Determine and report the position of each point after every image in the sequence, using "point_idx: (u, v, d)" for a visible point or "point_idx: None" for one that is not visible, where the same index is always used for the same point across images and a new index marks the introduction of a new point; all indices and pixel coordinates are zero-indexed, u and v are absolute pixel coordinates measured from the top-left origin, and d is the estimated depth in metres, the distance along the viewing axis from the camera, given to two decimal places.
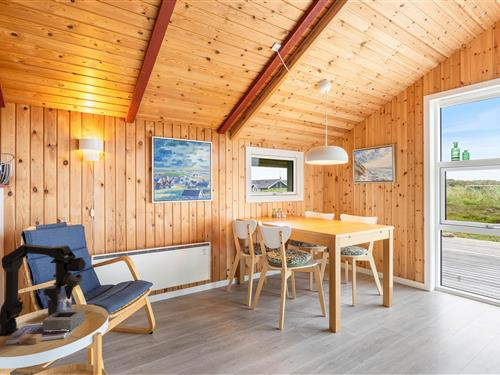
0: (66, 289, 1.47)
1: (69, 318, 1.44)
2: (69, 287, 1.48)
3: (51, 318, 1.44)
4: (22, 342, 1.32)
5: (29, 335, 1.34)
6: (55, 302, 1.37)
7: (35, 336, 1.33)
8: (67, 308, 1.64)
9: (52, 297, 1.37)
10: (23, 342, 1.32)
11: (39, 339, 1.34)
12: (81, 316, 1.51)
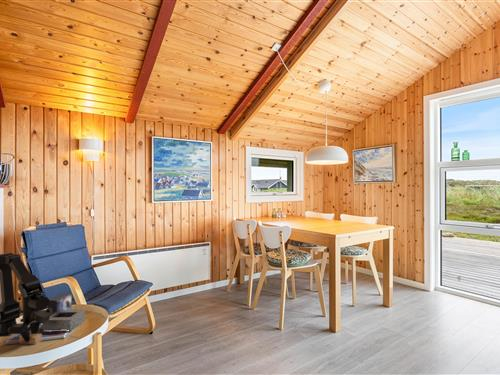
0: (31, 326, 1.36)
1: (69, 318, 1.44)
2: (35, 324, 1.36)
3: (51, 318, 1.44)
4: (22, 341, 1.32)
5: None
6: (26, 338, 1.31)
7: (35, 336, 1.33)
8: (67, 308, 1.64)
9: (23, 332, 1.30)
10: (23, 341, 1.32)
11: (38, 339, 1.33)
12: (81, 316, 1.51)
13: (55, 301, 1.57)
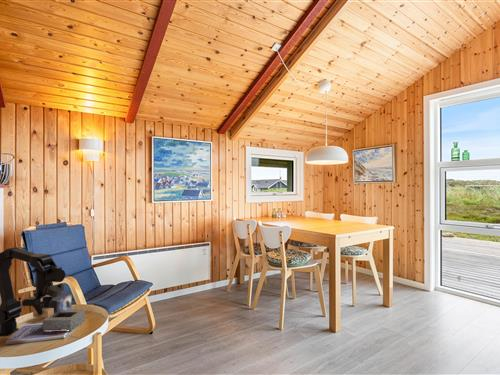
0: (44, 301, 1.41)
1: (69, 318, 1.44)
2: (47, 299, 1.41)
3: (51, 318, 1.44)
4: (35, 314, 1.37)
5: (42, 308, 1.40)
6: (39, 311, 1.36)
7: (47, 309, 1.38)
8: (67, 308, 1.64)
9: (36, 306, 1.36)
10: (37, 314, 1.37)
11: (51, 313, 1.38)
12: (81, 316, 1.51)
13: (55, 301, 1.57)
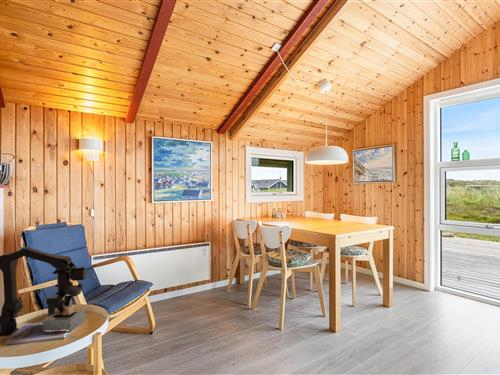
0: (64, 300, 1.51)
1: (69, 318, 1.44)
2: (67, 298, 1.51)
3: (51, 318, 1.44)
4: (57, 312, 1.47)
5: None
6: (60, 309, 1.46)
7: (68, 308, 1.48)
8: None
9: (58, 304, 1.45)
10: (58, 312, 1.47)
11: (71, 310, 1.48)
12: (81, 316, 1.51)
13: None
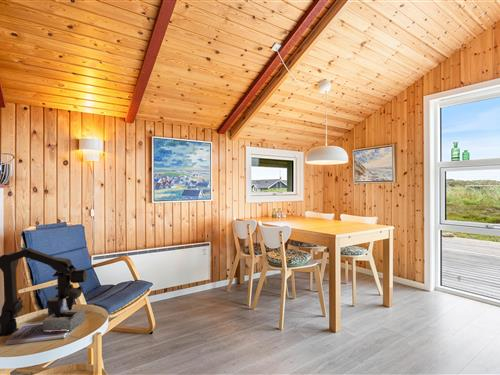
0: (67, 300, 1.53)
1: (69, 318, 1.44)
2: (70, 298, 1.54)
3: (51, 318, 1.44)
4: None
5: None
6: (57, 314, 1.43)
7: None
8: (67, 308, 1.64)
9: (54, 309, 1.43)
10: None
11: None
12: (81, 316, 1.51)
13: None
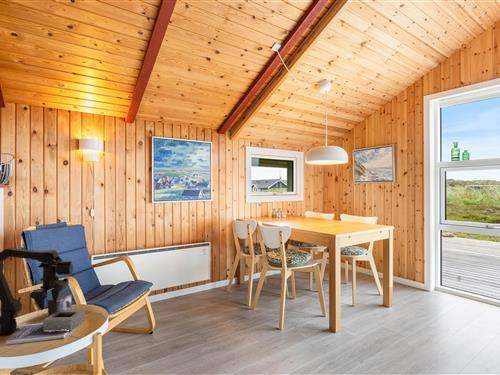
0: (53, 292, 1.52)
1: (69, 318, 1.44)
2: (56, 290, 1.52)
3: (51, 318, 1.44)
4: None
5: None
6: (41, 305, 1.42)
7: None
8: (67, 308, 1.64)
9: (38, 300, 1.41)
10: None
11: None
12: (81, 316, 1.51)
13: None
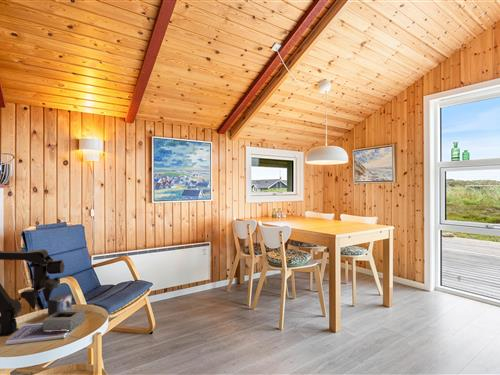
0: (44, 292, 1.52)
1: (69, 318, 1.44)
2: (47, 290, 1.52)
3: (51, 318, 1.44)
4: None
5: None
6: (32, 305, 1.41)
7: None
8: (67, 308, 1.64)
9: (29, 300, 1.41)
10: None
11: None
12: (81, 316, 1.51)
13: (55, 301, 1.57)
